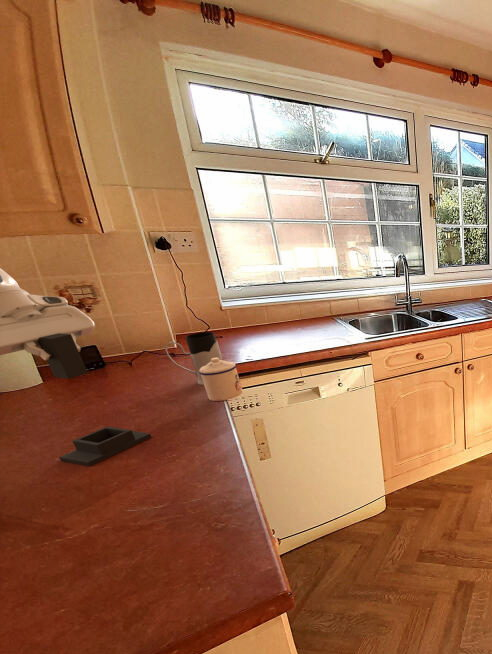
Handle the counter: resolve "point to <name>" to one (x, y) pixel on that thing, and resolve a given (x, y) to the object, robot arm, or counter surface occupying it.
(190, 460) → the counter surface
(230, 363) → the teacup with lid
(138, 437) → the base pad
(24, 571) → the counter surface
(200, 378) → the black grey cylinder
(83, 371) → the dark grey rectangular block
